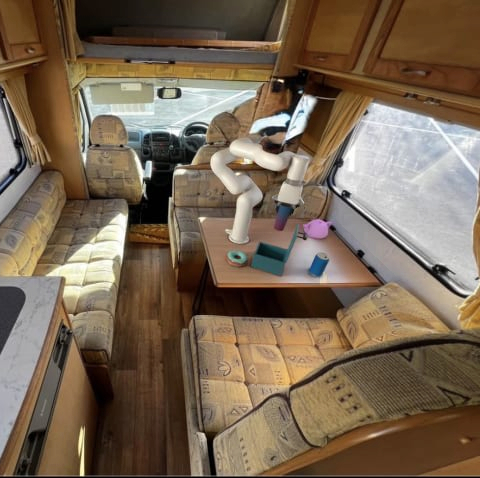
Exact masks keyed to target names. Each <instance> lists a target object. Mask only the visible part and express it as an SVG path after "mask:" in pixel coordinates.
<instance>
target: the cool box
mask: <svg viewBox="0 0 480 478" xmlns="http://www.w3.org/2000/svg"><path fill="white" fill-rule="evenodd" d="M287 250H288V248H284V247H280V246H278V245H274V244H270V243H266V242H263V241H259V242H258V244H257V246H256V249H255V251H254V253H253V257H252V260H251V264H250V268H254V269H256V270H260V271H263V272H266V273H269V274H272V275H275V276H279V277H281V276H282V273H283V270H284V267H285V264H286V263H285V259H286V255H287Z"/></svg>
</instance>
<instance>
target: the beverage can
mask: <svg viewBox="0 0 480 478" xmlns="http://www.w3.org/2000/svg"><path fill="white" fill-rule="evenodd" d="M329 262H330V256H329V255H328V254H327V253H324V252H318V253H317V254H315V255H314V258H313V260H312V262H311V264H310V267H309V269H308V272H309V273H310V275H312V276H314V277H321V276H323V274H324V272H325V270H326V269H327V267H328V264H329Z"/></svg>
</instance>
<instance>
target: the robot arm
mask: <svg viewBox="0 0 480 478" xmlns="http://www.w3.org/2000/svg"><path fill="white" fill-rule="evenodd" d="M239 158H243V159H245V160H249V161H253V162H254V163H255V164H257V165H258V166H260V167H261V168H264V169H266V170H270V171H274V172H280V171H282V170H284V169H287V168H288V171H287V175H286V178H285V180H284V181H283V182H282V184H281V186H280V190H279V192H278V193H276V194H274V195H273V196H271V200H273V202H274V203H275V206H276V207H275V212H276V214H277V213H278V210H279V205H280V203H281V202H284V203H289V204H292V205H293V208H292V210H291V212H290V216H289V217H291V216H292V215H293V214H294V212H295V210H296V209H298V208H300V207H301V206H304V205H305V202H304V201H303V199H302V193H303V187H304V185H305V184H307V180H305V176H306V173H307V170H308V168H309V164H310V157H309V156H307V155H303V154H297V153H295V152H292V151H290V150H285V151H282V152H280V153H278V154H275V153H271V152H269V151H268V152H267V151H265V150H264V149H263V145H262V144H259V143H255V142H253V141H252V139H251V138H250V137H247V136H244V137H240V138H236V139H234V140H233V141H232V142H231V143H230V144H229V147H226V148H223V149H219V150H218V151H216V152H215V153H214V154H212V156H211V157H210V164H209V165H210V168H211V171H212V172H213V174H214V175H215V176H216V177H217V178H218V179H219V180H220V181H221V183H222V184H223V186H225V188H226V189H227V190H228V192H229V193H231V195H236V196H237V195H239V194H240V195H239V196H238V197H237V199H236V210H235V216H234V221H233V226H232V229H229V228H225V231H224V232H225V233H226V234H227V235H228V239H229V241H230V242H232V243H234V244H237V245H245V244H247V243H248V242H249V240H250V237H249V236H248V233H249V231H250V226H251V222H252V218H253V208H254V207H255V206H256V205H258V204H260V203H261V202H262V200H263V193H262V190H261V189H260V188H259V187H258V185H257V184H256V183H255V182H254V181H253V180H252V179H251V177H250V176H248V175H246V174H239V175H237V174H236V173H235V172H234V170H232V168H230V167H228V166H227V165H228V164H230V163H232V162H234V161H236V160H237V159H239ZM241 193H242V194H241Z"/></svg>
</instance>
